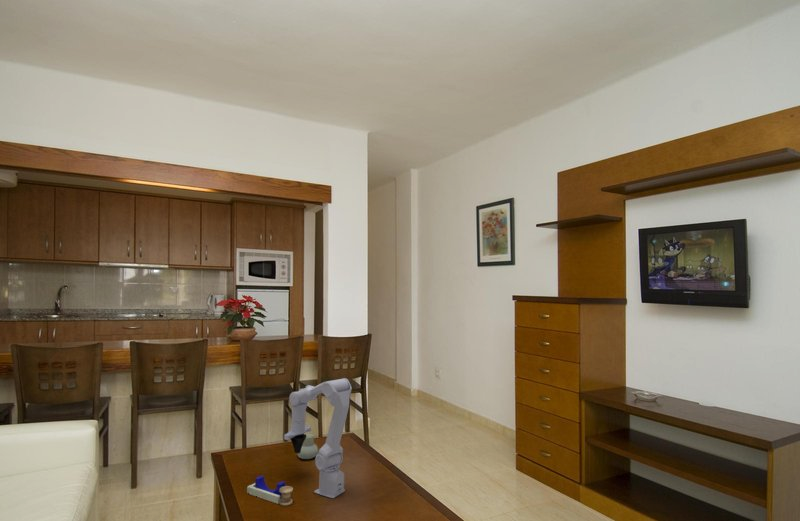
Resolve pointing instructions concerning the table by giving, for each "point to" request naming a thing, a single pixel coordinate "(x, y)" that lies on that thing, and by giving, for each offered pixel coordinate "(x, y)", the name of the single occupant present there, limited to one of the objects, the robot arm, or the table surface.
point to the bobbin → (286, 495)
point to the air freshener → (308, 448)
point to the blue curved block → (261, 485)
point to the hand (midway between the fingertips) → (297, 452)
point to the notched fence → (263, 494)
